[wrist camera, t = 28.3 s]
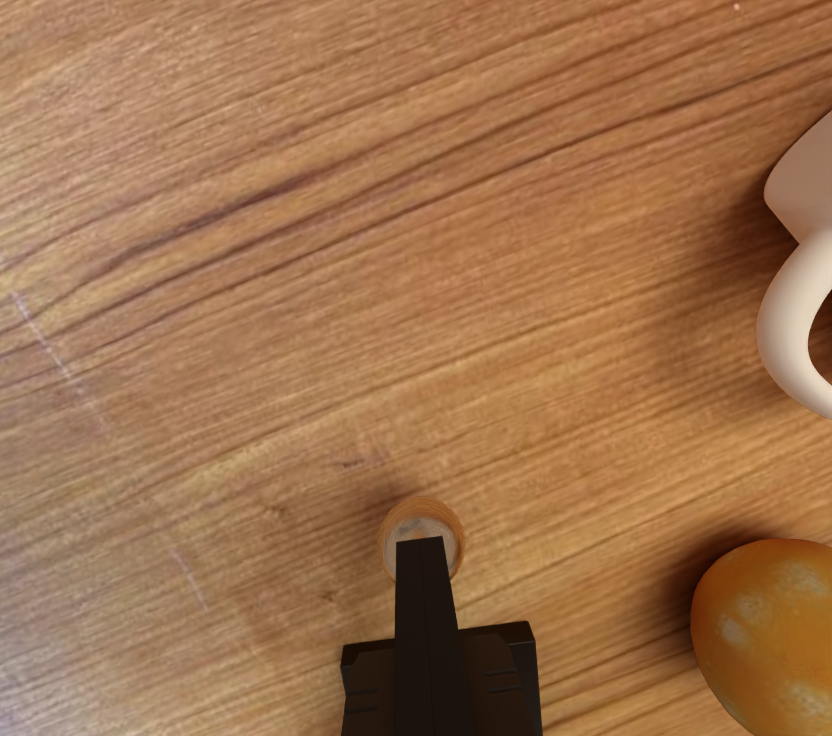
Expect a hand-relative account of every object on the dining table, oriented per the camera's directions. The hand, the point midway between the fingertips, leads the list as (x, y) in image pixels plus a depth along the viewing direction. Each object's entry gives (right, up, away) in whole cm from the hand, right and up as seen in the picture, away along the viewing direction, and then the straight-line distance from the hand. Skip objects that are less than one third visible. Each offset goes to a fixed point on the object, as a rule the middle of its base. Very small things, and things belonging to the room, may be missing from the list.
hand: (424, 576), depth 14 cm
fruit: (+16, -4, +7) cm, 18 cm away
